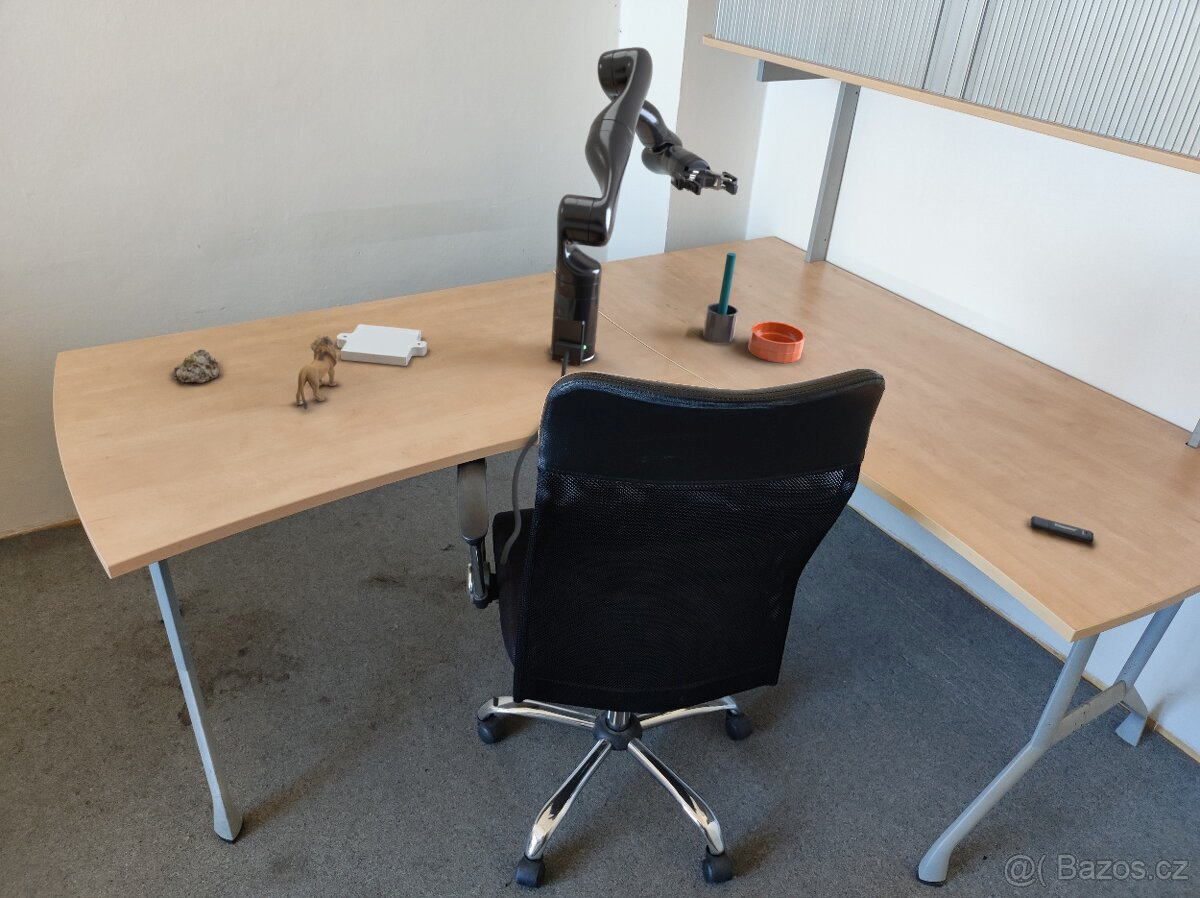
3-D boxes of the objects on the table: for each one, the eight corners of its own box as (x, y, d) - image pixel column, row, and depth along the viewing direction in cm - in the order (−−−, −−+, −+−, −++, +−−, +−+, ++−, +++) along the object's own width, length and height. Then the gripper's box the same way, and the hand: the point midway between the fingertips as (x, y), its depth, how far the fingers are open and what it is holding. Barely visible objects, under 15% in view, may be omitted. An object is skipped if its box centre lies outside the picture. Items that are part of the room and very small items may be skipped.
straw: (721, 337, 199) (735, 256, 189) (712, 336, 199) (726, 254, 189) (723, 334, 200) (737, 253, 190) (714, 332, 201) (728, 251, 191)
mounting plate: (328, 358, 175) (327, 349, 174) (347, 331, 186) (347, 322, 185) (419, 367, 175) (418, 358, 174) (432, 339, 186) (432, 331, 185)
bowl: (797, 369, 190) (802, 347, 187) (744, 358, 192) (748, 337, 189) (802, 347, 199) (807, 327, 197) (751, 337, 202) (755, 317, 199)
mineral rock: (214, 375, 161) (167, 362, 159) (210, 395, 163) (164, 383, 161) (230, 351, 170) (186, 339, 168) (226, 370, 172) (183, 358, 170)
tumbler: (730, 346, 196) (735, 317, 193) (700, 340, 198) (704, 311, 194) (734, 335, 202) (740, 306, 198) (705, 329, 203) (710, 301, 200)
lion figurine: (314, 373, 170) (310, 330, 165) (343, 375, 170) (339, 332, 165) (291, 410, 157) (286, 365, 152) (321, 413, 157) (317, 367, 153)
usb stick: (1029, 528, 146) (1032, 521, 145) (1029, 520, 148) (1032, 512, 147) (1091, 546, 143) (1095, 538, 142) (1090, 537, 145) (1093, 529, 144)
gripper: (661, 153, 202) (690, 173, 189) (718, 153, 206) (749, 173, 193) (657, 186, 206) (685, 208, 193) (713, 186, 210) (743, 207, 197)
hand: (717, 190), depth 193 cm, fingers open, 8 cm apart
